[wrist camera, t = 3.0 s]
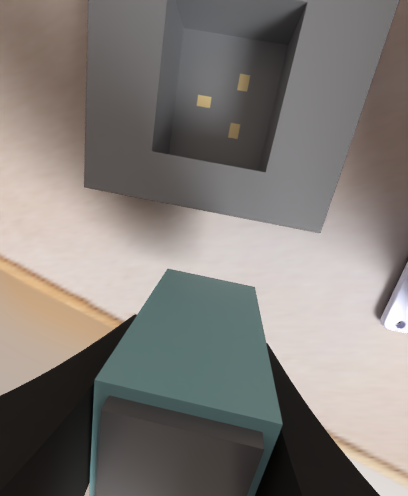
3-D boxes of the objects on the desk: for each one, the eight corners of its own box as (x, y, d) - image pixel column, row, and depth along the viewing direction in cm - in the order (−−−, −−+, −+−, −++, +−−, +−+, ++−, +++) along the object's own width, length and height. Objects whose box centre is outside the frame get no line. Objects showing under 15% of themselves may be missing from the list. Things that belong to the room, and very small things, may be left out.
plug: (254, 287, 10) (286, 441, 4) (231, 371, 11) (231, 574, 6) (167, 268, 10) (85, 393, 4) (155, 354, 11) (80, 533, 6)
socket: (365, 4, 11) (429, -75, 7) (299, 219, 14) (322, 234, 11) (129, -32, 11) (85, -122, 8) (116, 184, 15) (80, 187, 11)
